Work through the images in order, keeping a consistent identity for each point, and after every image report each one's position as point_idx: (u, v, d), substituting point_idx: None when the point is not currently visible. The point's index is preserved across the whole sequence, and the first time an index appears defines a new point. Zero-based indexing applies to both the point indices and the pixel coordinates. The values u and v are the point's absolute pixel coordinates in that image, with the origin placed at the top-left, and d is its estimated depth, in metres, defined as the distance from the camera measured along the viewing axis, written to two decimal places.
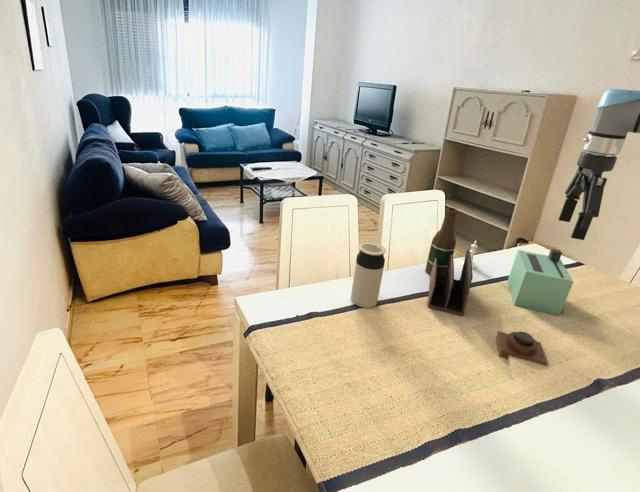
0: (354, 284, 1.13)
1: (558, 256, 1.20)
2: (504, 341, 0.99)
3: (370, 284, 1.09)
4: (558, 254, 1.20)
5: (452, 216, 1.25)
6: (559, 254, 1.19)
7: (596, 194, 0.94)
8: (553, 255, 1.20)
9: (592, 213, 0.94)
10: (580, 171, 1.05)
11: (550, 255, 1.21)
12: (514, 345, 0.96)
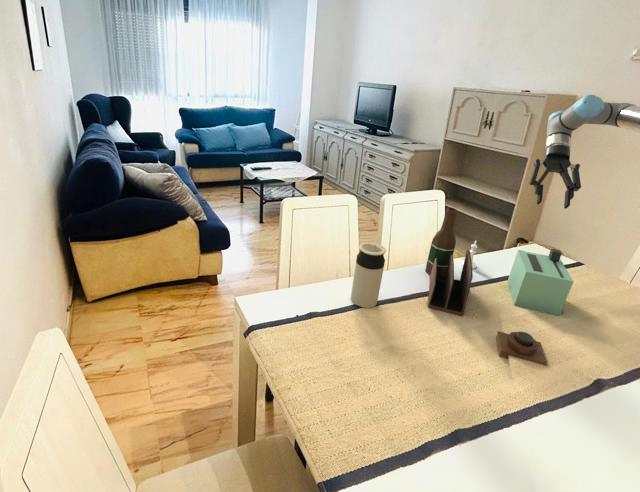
0: (354, 284, 1.13)
1: (558, 256, 1.20)
2: (504, 341, 0.99)
3: (370, 284, 1.09)
4: (558, 254, 1.20)
5: (452, 216, 1.25)
6: (559, 254, 1.19)
7: (534, 170, 1.39)
8: (553, 255, 1.20)
9: None
10: None
11: (550, 255, 1.21)
12: (514, 345, 0.96)
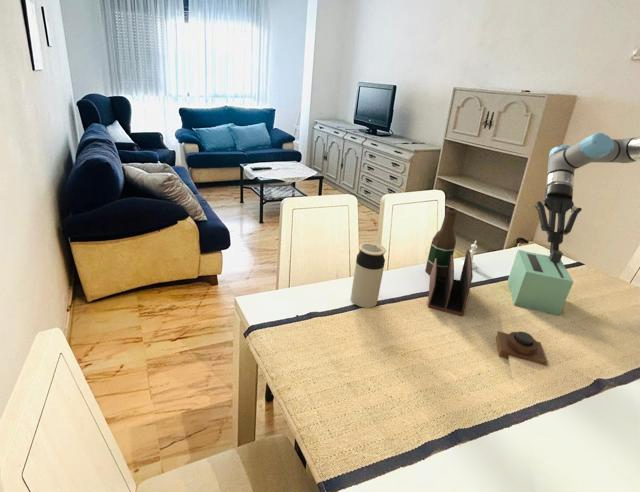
0: (354, 284, 1.13)
1: (559, 257, 1.19)
2: (504, 341, 0.99)
3: (370, 284, 1.09)
4: (559, 255, 1.19)
5: (452, 216, 1.25)
6: (560, 255, 1.19)
7: (540, 214, 1.28)
8: (554, 256, 1.19)
9: (543, 226, 1.26)
10: None
11: (551, 256, 1.21)
12: (514, 345, 0.96)
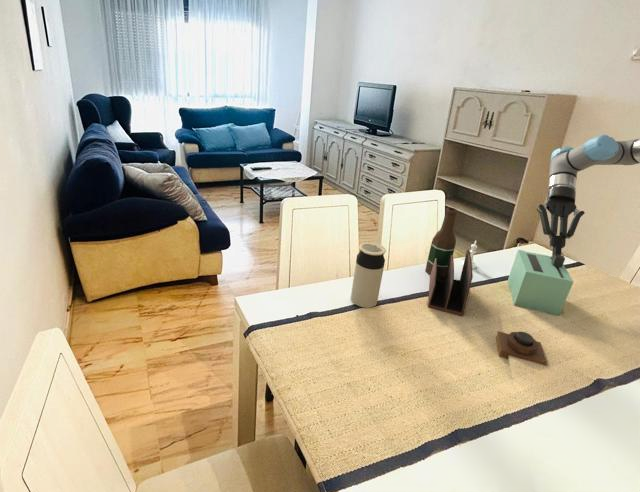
0: (354, 284, 1.13)
1: (561, 261, 1.16)
2: (504, 341, 0.99)
3: (370, 284, 1.09)
4: (562, 260, 1.16)
5: (452, 216, 1.25)
6: (562, 259, 1.16)
7: (542, 217, 1.25)
8: (556, 261, 1.17)
9: (545, 230, 1.24)
10: None
11: (553, 260, 1.18)
12: (514, 345, 0.96)
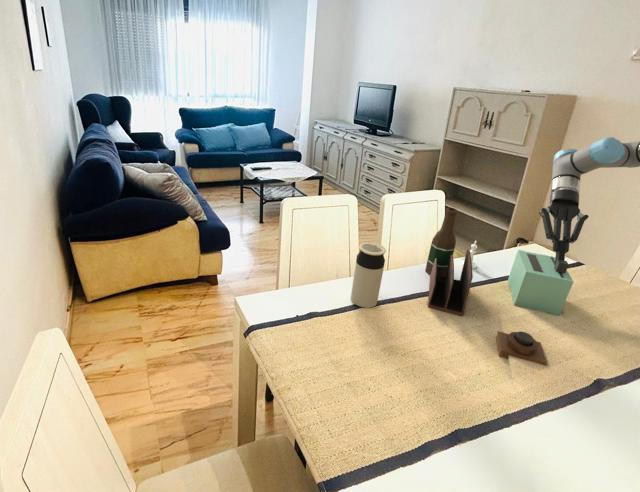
0: (354, 284, 1.13)
1: (565, 267, 1.13)
2: (504, 341, 0.99)
3: (370, 284, 1.09)
4: (565, 265, 1.13)
5: (452, 216, 1.25)
6: (566, 265, 1.13)
7: (544, 221, 1.22)
8: (560, 266, 1.13)
9: (548, 234, 1.20)
10: None
11: (556, 266, 1.15)
12: (514, 345, 0.96)
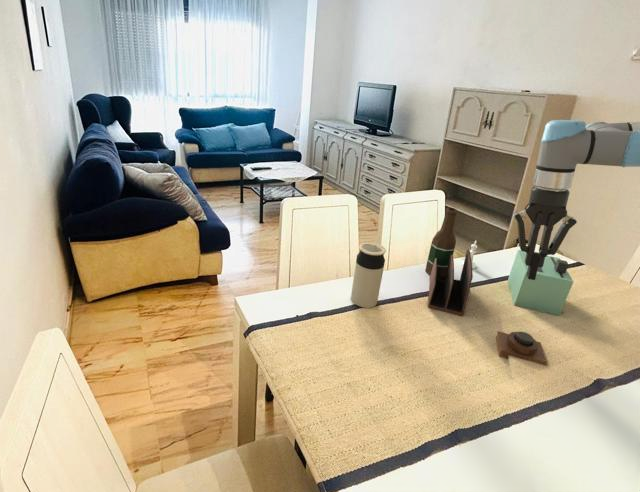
0: (354, 284, 1.13)
1: (565, 267, 1.13)
2: (504, 341, 0.99)
3: (370, 284, 1.09)
4: (565, 265, 1.13)
5: (452, 216, 1.25)
6: (566, 265, 1.13)
7: (518, 229, 0.96)
8: (560, 266, 1.13)
9: None
10: None
11: (556, 266, 1.15)
12: (514, 345, 0.96)
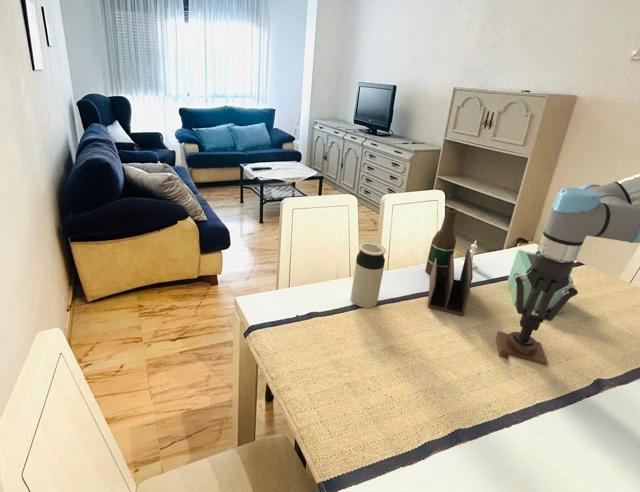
0: (354, 284, 1.13)
1: None
2: (504, 341, 0.99)
3: (370, 284, 1.09)
4: None
5: (452, 216, 1.25)
6: None
7: (517, 291, 0.93)
8: None
9: None
10: None
11: None
12: (514, 345, 0.96)
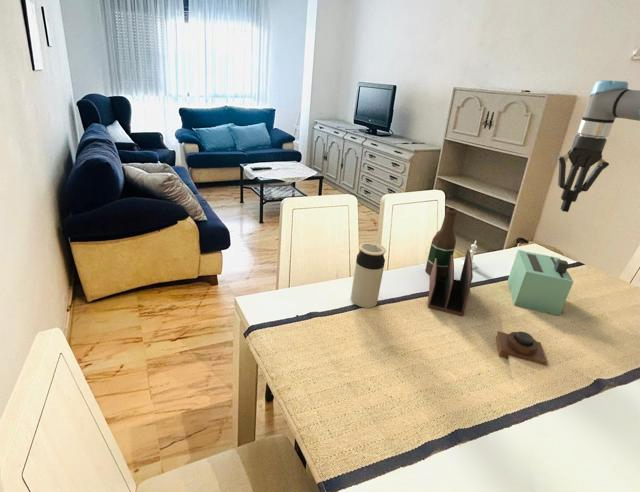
0: (354, 284, 1.13)
1: (565, 267, 1.13)
2: (504, 341, 0.99)
3: (370, 284, 1.09)
4: (565, 265, 1.13)
5: (452, 216, 1.25)
6: (566, 265, 1.13)
7: (559, 170, 1.19)
8: (560, 266, 1.13)
9: (559, 184, 1.21)
10: None
11: (556, 266, 1.15)
12: (514, 345, 0.96)
